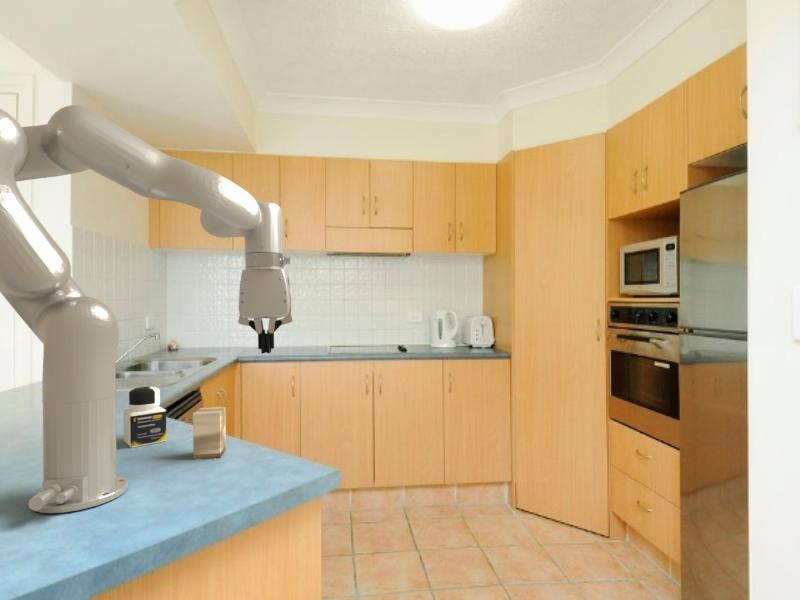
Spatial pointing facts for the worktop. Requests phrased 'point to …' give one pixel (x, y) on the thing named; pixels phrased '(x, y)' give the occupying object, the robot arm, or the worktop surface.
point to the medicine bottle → (144, 418)
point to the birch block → (209, 433)
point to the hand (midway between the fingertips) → (266, 352)
